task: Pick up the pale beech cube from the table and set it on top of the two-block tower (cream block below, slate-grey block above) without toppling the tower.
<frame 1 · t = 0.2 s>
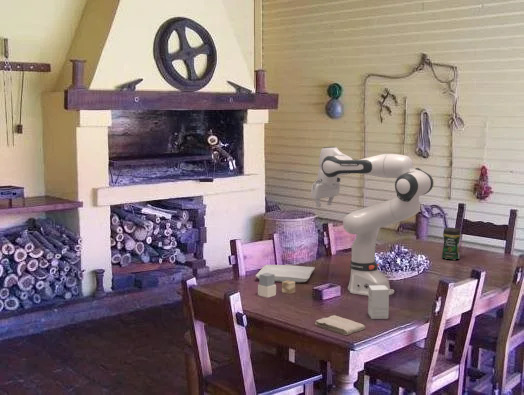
hand: (323, 206, 339), 39 cm above the table, tool pointing down, fingers open, 8 cm apart
beech cube: (288, 292, 325), on the table
coffee jar: (450, 259, 397), on the table
tower base: (266, 295, 319), on the table
supplement box: (378, 317, 286), on the table
tower top: (266, 284, 319), point 5 cm above the table
square plate: (285, 278, 354), on the table
washcloth: (339, 328, 272), on the table
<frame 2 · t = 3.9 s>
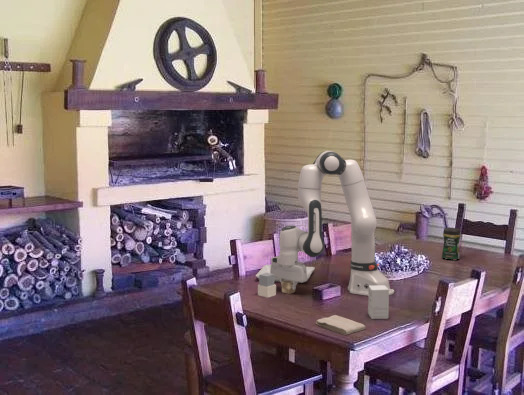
hand: (288, 288, 324), 2 cm above the table, tool pointing down, fingers closed on beech cube, 4 cm apart
beech cube: (288, 292, 325), on the table, touching gripper
tower base: (266, 295, 319), on the table, touching tower top
tower top: (266, 284, 318), point 5 cm above the table, touching tower base
everything else where it was.
when the fingers open (13 cm above the table, at t = 7.4 s): beech cube drops 1 cm, resting on tower top.
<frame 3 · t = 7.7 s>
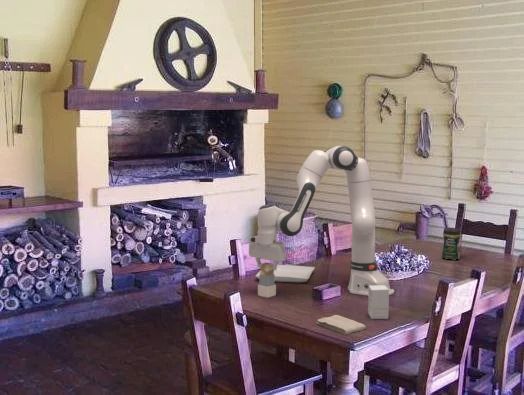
hand: (267, 268, 318), 13 cm above the table, tool pointing down, fingers open, 8 cm apart
beech cube: (266, 274, 318), point 10 cm above the table, touching tower top
tower top: (266, 284, 319), point 5 cm above the table, touching beech cube, tower base
everything else where it was.
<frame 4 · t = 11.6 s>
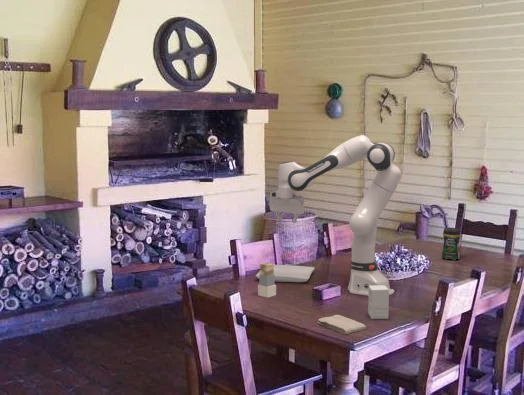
hand: (286, 221, 338), 31 cm above the table, tool pointing down, fingers open, 8 cm apart
at the end: beech cube 0.1 cm off-centre on the tower base, point 10.0 cm above the tower base's base; tower top tilted 0°; tower top 0.1 cm from the tower base (horizontally) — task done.
